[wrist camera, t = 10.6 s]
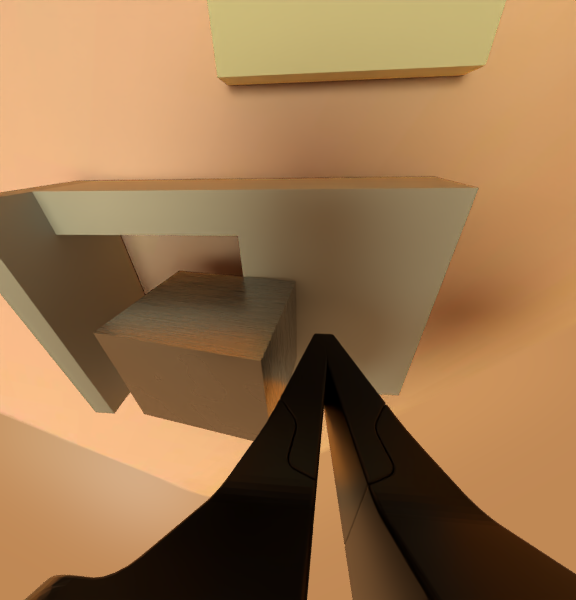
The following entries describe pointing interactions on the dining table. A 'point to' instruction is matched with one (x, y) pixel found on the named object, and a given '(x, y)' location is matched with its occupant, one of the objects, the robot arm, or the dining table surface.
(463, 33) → the pad
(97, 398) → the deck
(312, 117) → the dining table surface
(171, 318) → the block
